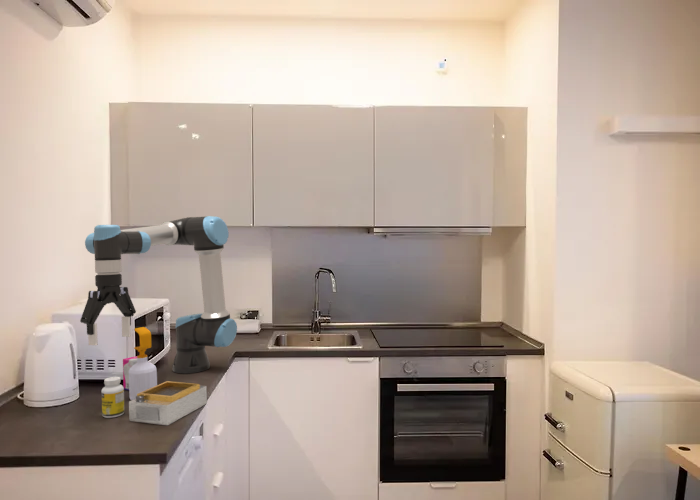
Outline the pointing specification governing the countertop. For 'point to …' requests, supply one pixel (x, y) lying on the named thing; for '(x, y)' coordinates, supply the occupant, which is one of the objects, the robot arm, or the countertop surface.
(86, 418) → the countertop surface
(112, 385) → the pill bottle
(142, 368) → the spray bottle
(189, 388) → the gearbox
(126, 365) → the supplement box
